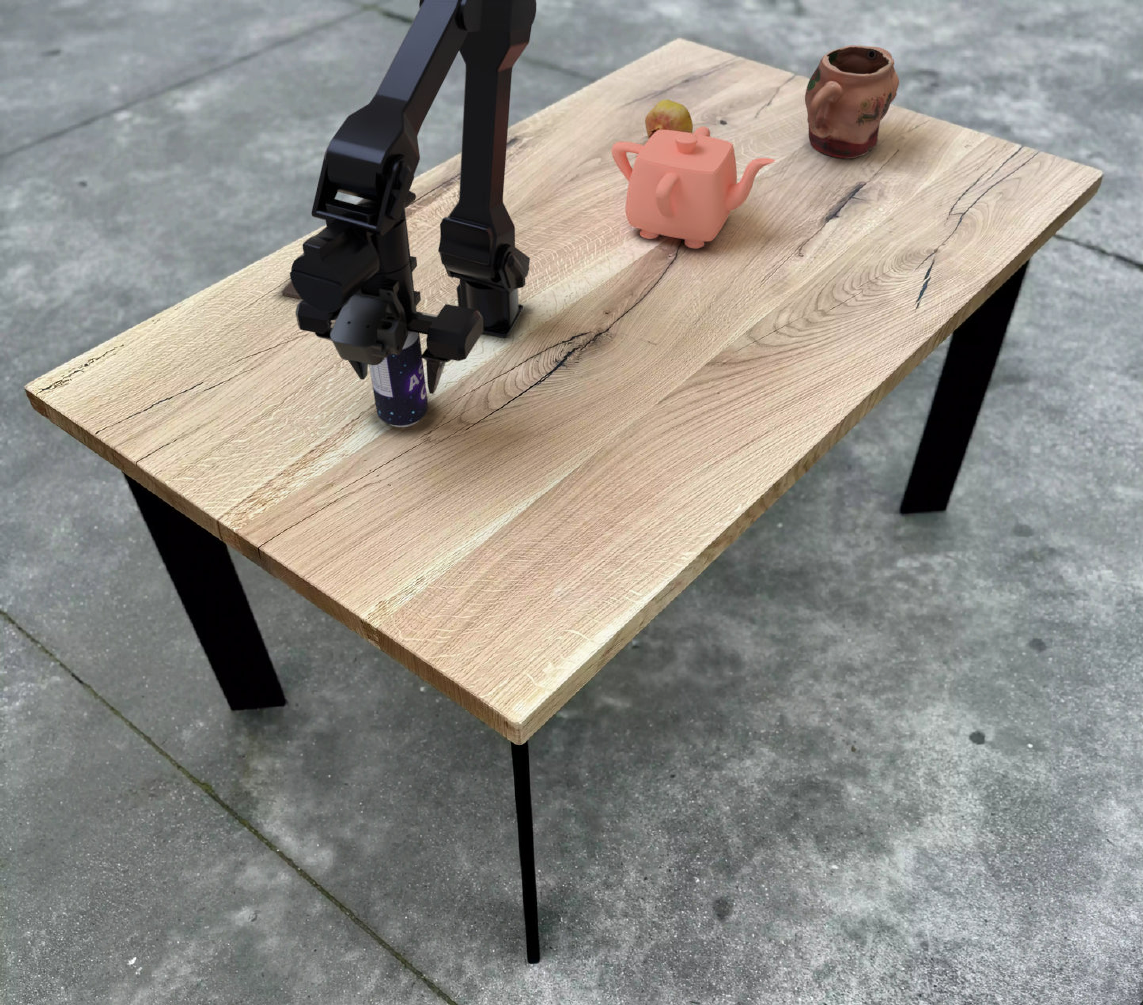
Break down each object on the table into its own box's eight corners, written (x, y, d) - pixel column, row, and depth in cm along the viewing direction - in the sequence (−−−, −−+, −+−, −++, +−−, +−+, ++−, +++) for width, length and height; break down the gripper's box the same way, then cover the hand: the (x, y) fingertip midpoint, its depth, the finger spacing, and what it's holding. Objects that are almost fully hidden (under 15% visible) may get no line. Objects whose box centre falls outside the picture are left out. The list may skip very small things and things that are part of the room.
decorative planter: (844, 188, 157) (862, 94, 148) (769, 163, 162) (782, 71, 153) (903, 136, 169) (923, 46, 159) (831, 115, 174) (847, 26, 164)
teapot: (603, 212, 152) (605, 123, 143) (701, 188, 157) (709, 100, 148) (661, 273, 142) (667, 180, 132) (764, 244, 147) (777, 153, 137)
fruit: (659, 89, 167) (630, 113, 161) (700, 87, 164) (672, 112, 158) (666, 133, 171) (637, 158, 165) (706, 132, 168) (679, 158, 162)
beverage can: (420, 435, 119) (408, 346, 111) (370, 428, 120) (355, 339, 111) (435, 402, 123) (425, 314, 114) (387, 395, 124) (373, 307, 115)
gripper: (255, 286, 104) (285, 413, 115) (438, 320, 100) (450, 448, 111) (310, 228, 111) (332, 352, 122) (481, 258, 107) (488, 384, 118)
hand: (398, 384), depth 118 cm, fingers closed on beverage can, 8 cm apart
